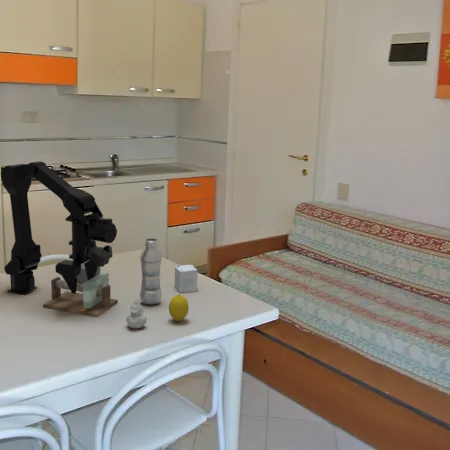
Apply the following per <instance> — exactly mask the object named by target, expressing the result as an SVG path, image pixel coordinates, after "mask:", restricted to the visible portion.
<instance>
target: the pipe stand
mask: <svg viewBox="0 0 450 450" xmlns="http://www.w3.org/2000/svg"><path fill="white" fill-rule="evenodd" d="M50 287H51V299H49V300H47V301H46V302H44V303H42V308H46V309H51V310H56V311H61V312H67V313H72V314H77V315H82V316H87V317H88V316H89V317H93V318H99V317H100V316H101V315H102V314H104V313H105V312H107V311H108V310H110V309H111V308H113V307H114V306H116V305H118V303H119V299H116V298H115V299H114V298H111V285H110V284H109V285H107V286H105V287H99V286H97V287H96V295H102V301H100V302H99V303H97V304H96V305H94V306H93V307H91V308H84V307H83V284H81V283H77V289H76V293H75V294H73V293H72V292H71V290H70V289H69V287H68V285H67V283H66V281H65V280H64V279H63V280H62V279H61V277H60V276H56V277H54V278H52V279H51V280H50ZM61 289H62V290H66V291H64V292H62V290H61Z"/></svg>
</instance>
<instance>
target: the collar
mask: <svg viewBox="0 0 450 450" xmlns="http://www.w3.org/2000/svg"><path fill="white" fill-rule="evenodd" d="M109 275H110V273H108V272H100V274H99V275H97V276H96V277H94V278H92V279H90V280H88V281H87V282H85V283H83V292H82V294H83V307H84V308H91V307H93V306H94V305H96V304H97V303H99V302H100V301H102V295H96V287H97V286H99V287H105V286H107V285H110V276H109Z"/></svg>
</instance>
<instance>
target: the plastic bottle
mask: <svg viewBox="0 0 450 450" xmlns="http://www.w3.org/2000/svg"><path fill="white" fill-rule="evenodd" d="M158 244H159V243H158V239H157V238H153V237H149V238H146V239H145V240H144V247H145V248H144V249H143V250H142V252H141V253H140V256H139V258H140V267H141V288H140V292H139V297H140V298H139V299H140V301H141V303H143V304H144V305H156V304H158V303H160V301H161V299H162V288H161V283H160V282H161V280H160V278H161V275H160V274H161V265H162V259H163V258H162V253H161V252H160V250H159V249H158V246H159V245H158Z"/></svg>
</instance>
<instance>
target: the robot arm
mask: <svg viewBox="0 0 450 450" xmlns="http://www.w3.org/2000/svg"><path fill="white" fill-rule="evenodd" d="M0 171H1V172H0V177H1V181H2V185H3V188H4V189H5V190H6V192H7V193H8V194H9V198H10V199H9V201H10V206H11V207H10V209H11V214H12V215H11V217H12V223H13V224H12V225H13V233H14V234H13V235H14V243H13V246H12V249H11V250H10V261H8V262H7V264H6V265H5V266H4V267H3V268H4V271H5V274H6V275H8V276H9V275H10V288H9V289H7V293H13V294H20V295H27V294H29V293H32V292H33V291H35V290H36V289H38V286H35V285H36V284H35V276H34V271H35V270H37V269H38V266H39V264H40V263H41V258H42V257H43V256H42V253H41V244H37V243H36V242H35V241H34V239H33V234H32V224H31V218H30V217H31V215H30V208H29V207H30V206H29V198H28V192H29V190H30V188H31V186H32V178H35V180H37V181H38V182H39V183H40V184H42V185H43V186H45V187H46V188H47V189H48V190H49V191H50V192H52V193H53V194H54V195H55V196H57V197H58V198H59V199H60V201H61V202H62V205H63V207H64V208H65V210H67V211H68V213H69V215H68V216H67V217H65V221H66V222H71V240H68V246H71V254H69V255H68V259H70V260H68V259H64V260H62V261H59V262H58V263H56V265H55V274H56V273H57V274H58V275H60V276H61V277H62V278H63V281H66V283H67V285H68V287H69V289H70V290H69V291H70V292H72V293H73V294H75V293H77V291H76V289H77V278H78V276H79V275H80V274H81V272H80V271H81V265H82V264H84V266H85V270H86V274H87V278H88V280H90V279H92V278H94V277H95V275H96V272H97V269H98V266H99V267H100V268H103V267H104V266H105V265H108V264H109V261H110V259H111V258H113V256H114V255H113V247H112V246H111V245H109V244H112V243H113V242H114V241H115V239H116V237H117V235H118V229H117V227H116V224H114V223H113V219H112V218H111V217H110V218H108V217H107V218H104V215H103V213H102V211H101V209H100V208H99V206H98V204H97V202H96V198H95V197H94V195H92V194H91V193H90V192H88V191H85V190H83V189H80V188H77V187H75V186H73V185H71V184H69V182H67V181H66V180H65V179H64V178H62V176H60V175H59V174H58V173H56V172H55V171H54V170H53V169H51V167H49V166H47V164H46V163H45V162H44V161H41V160H40V161H31V162H29V163H26V164H25V163H19V164H17V163H16V164H9V165H5V166H4V167H3V168H2V169H1V170H0ZM97 242H101V243H106V244H107V245H105V246H104V247H103V246H98V245H97ZM96 245H97V246H98V247H97V246H96ZM72 259H73V260H74V261H72Z"/></svg>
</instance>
